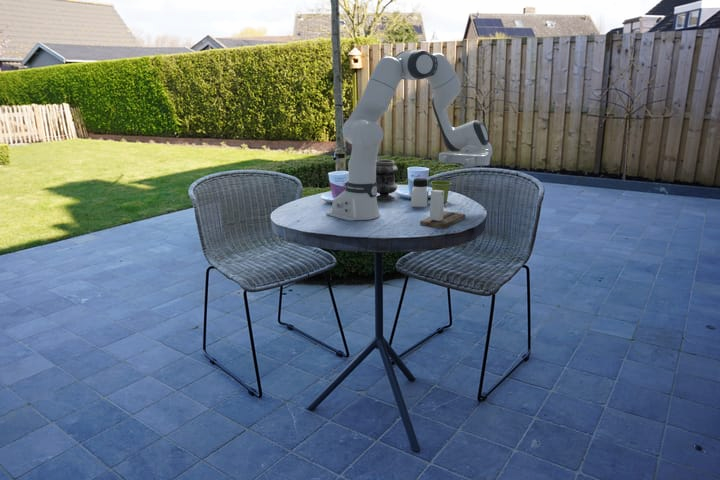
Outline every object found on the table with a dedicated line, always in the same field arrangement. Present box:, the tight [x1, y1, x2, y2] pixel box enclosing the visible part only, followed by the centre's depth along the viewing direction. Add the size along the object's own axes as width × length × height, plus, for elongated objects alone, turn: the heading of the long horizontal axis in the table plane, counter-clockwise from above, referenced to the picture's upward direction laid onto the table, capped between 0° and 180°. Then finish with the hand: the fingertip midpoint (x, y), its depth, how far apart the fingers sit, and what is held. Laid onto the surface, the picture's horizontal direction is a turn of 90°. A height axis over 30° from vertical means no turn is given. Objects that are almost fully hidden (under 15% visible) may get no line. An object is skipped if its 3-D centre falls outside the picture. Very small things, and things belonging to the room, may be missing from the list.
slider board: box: [419, 210, 466, 230], centre depth 195 cm, size 10×19×2 cm, turn 145°
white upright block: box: [429, 189, 445, 221], centre depth 188 cm, size 4×3×11 cm
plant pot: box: [430, 180, 452, 203], centre depth 227 cm, size 9×9×9 cm
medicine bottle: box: [410, 177, 429, 208], centre depth 220 cm, size 7×7×12 cm
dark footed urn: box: [376, 159, 398, 202], centre depth 231 cm, size 12×12×18 cm
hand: (455, 160), depth 194 cm, fingers open, 8 cm apart
